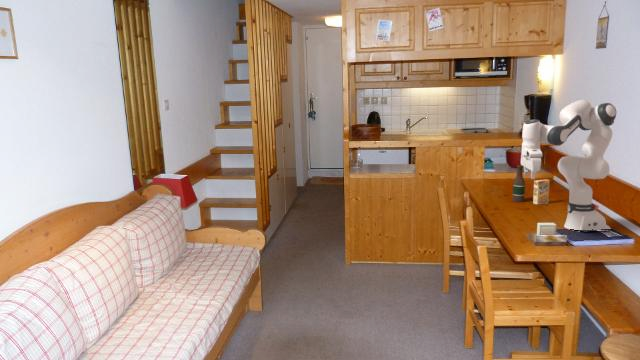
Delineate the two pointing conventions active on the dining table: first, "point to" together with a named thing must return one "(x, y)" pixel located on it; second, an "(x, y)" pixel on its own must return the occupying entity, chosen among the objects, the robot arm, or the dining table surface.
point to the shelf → (547, 239)
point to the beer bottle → (519, 186)
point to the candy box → (541, 192)
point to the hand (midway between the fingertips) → (529, 176)
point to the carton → (546, 229)
